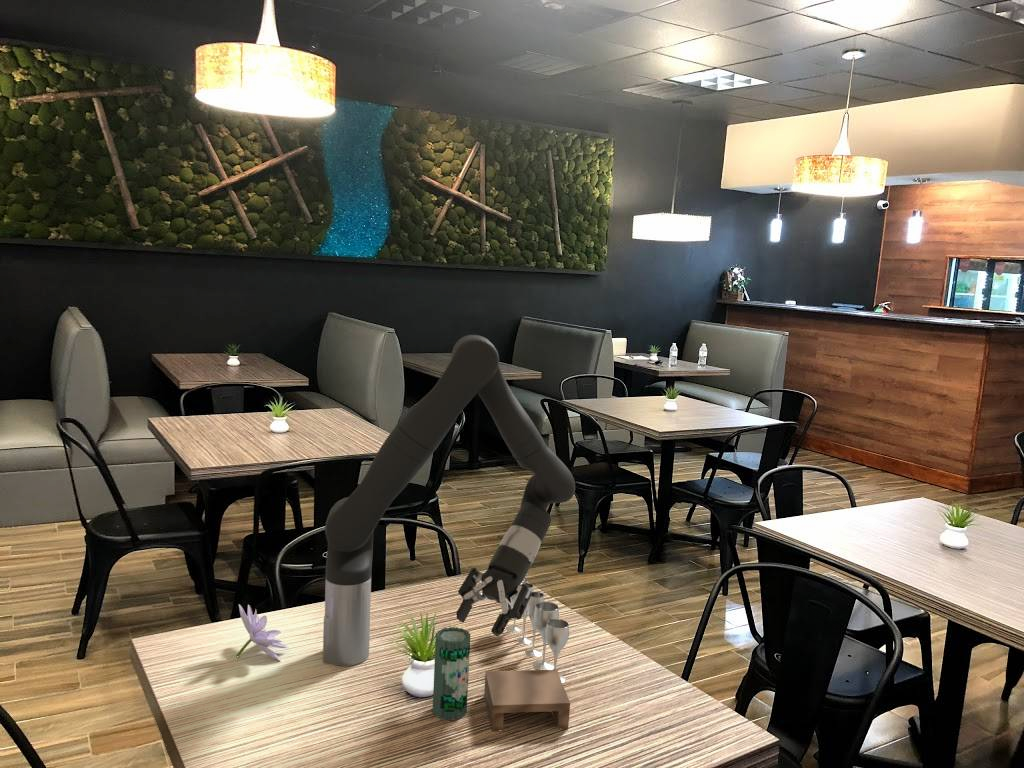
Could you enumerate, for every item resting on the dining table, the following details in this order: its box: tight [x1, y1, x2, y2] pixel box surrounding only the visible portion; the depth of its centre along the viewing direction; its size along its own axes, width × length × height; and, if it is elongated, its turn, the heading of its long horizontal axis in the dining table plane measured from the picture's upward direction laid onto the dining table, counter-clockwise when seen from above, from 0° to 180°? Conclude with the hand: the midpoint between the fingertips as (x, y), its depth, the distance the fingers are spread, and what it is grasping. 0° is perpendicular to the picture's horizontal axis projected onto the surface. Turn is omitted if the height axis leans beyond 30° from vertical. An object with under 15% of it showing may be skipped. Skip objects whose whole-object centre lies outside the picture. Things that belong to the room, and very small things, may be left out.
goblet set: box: [506, 577, 570, 684], centre depth 172 cm, size 28×6×13 cm, turn 21°
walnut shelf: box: [483, 669, 571, 732], centre depth 150 cm, size 14×12×5 cm
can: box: [432, 626, 471, 721], centre depth 148 cm, size 6×6×15 cm
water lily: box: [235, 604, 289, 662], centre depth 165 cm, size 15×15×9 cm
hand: (476, 627), depth 152 cm, fingers open, 8 cm apart
